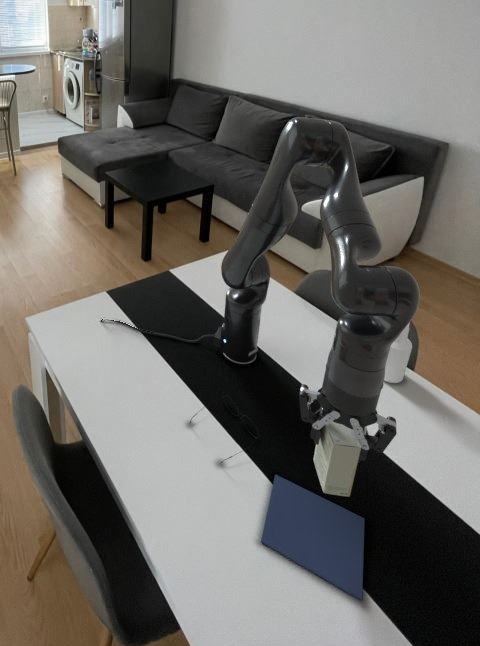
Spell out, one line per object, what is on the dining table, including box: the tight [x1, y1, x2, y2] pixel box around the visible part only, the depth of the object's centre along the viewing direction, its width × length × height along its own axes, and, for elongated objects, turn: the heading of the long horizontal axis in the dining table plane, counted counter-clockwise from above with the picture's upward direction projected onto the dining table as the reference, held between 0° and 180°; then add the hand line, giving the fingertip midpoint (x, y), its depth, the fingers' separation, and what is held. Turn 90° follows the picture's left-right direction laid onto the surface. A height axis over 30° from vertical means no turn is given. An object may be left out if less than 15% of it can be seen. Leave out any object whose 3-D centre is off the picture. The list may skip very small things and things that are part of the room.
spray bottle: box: [384, 322, 413, 384], centre depth 109 cm, size 7×7×18 cm
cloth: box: [260, 474, 366, 602], centre depth 81 cm, size 16×14×1 cm
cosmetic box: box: [313, 421, 361, 498], centre depth 74 cm, size 6×4×12 cm
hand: (336, 448), depth 73 cm, fingers closed on cosmetic box, 5 cm apart
